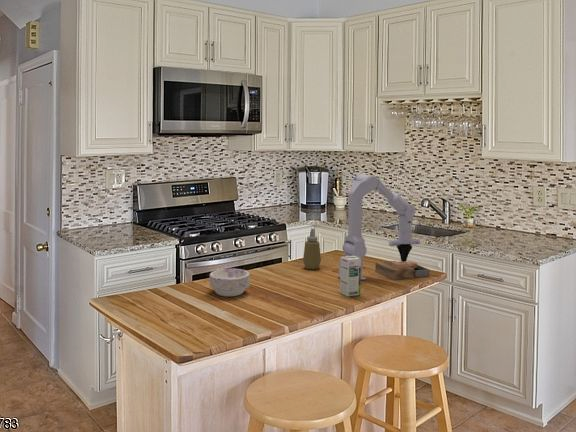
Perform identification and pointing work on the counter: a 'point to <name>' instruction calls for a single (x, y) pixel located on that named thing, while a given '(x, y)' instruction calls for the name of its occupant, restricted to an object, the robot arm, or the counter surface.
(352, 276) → the syrup box
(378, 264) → the brown flat block
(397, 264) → the tile near
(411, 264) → the tile far
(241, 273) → the marbled grey bowl
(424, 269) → the tray
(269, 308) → the counter surface
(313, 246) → the squeeze bottle
